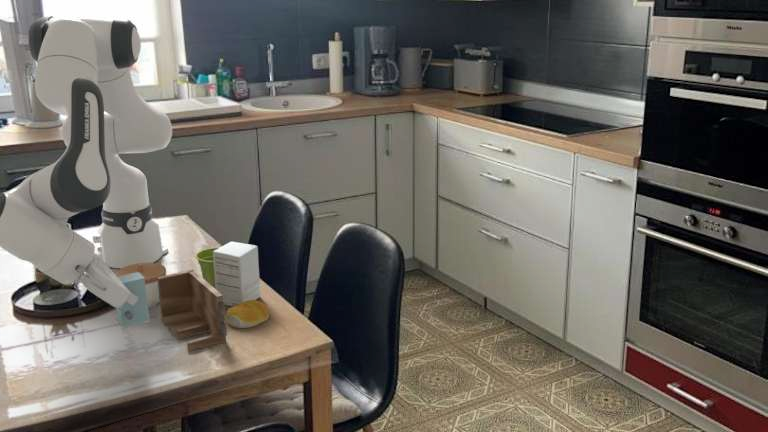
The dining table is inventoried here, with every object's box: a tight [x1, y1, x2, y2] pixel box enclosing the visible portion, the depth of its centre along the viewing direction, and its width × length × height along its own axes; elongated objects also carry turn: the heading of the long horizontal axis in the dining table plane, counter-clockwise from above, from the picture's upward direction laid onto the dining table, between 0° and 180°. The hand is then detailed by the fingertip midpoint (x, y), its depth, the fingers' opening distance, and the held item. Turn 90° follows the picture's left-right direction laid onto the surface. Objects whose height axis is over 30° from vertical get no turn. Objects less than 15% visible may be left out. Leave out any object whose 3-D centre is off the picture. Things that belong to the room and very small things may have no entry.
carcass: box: [157, 269, 228, 352], centre depth 159 cm, size 18×8×10 cm, turn 34°
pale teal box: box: [115, 272, 150, 329], centre depth 146 cm, size 5×5×9 cm
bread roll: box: [224, 299, 270, 329], centre depth 165 cm, size 8×9×4 cm
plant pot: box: [195, 246, 220, 288], centre depth 180 cm, size 9×9×9 cm
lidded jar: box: [115, 262, 167, 309], centre depth 172 cm, size 11×11×9 cm
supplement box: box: [213, 241, 261, 307], centre depth 173 cm, size 7×7×13 cm
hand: (131, 295), depth 146 cm, fingers closed on pale teal box, 3 cm apart
